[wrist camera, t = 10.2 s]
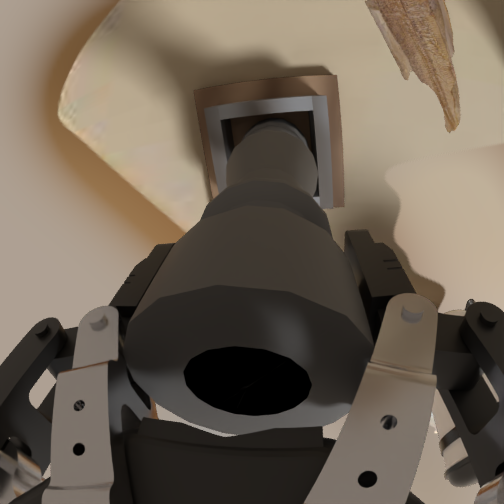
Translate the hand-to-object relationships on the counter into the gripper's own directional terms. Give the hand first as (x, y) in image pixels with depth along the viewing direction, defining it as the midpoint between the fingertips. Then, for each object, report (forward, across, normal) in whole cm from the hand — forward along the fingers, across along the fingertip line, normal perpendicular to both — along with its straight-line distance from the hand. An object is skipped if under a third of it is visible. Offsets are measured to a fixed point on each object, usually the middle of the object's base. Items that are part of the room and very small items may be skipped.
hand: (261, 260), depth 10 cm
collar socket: (+22, 0, 0) cm, 22 cm away
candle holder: (+20, 0, 0) cm, 20 cm away
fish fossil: (+23, -17, -13) cm, 31 cm away
